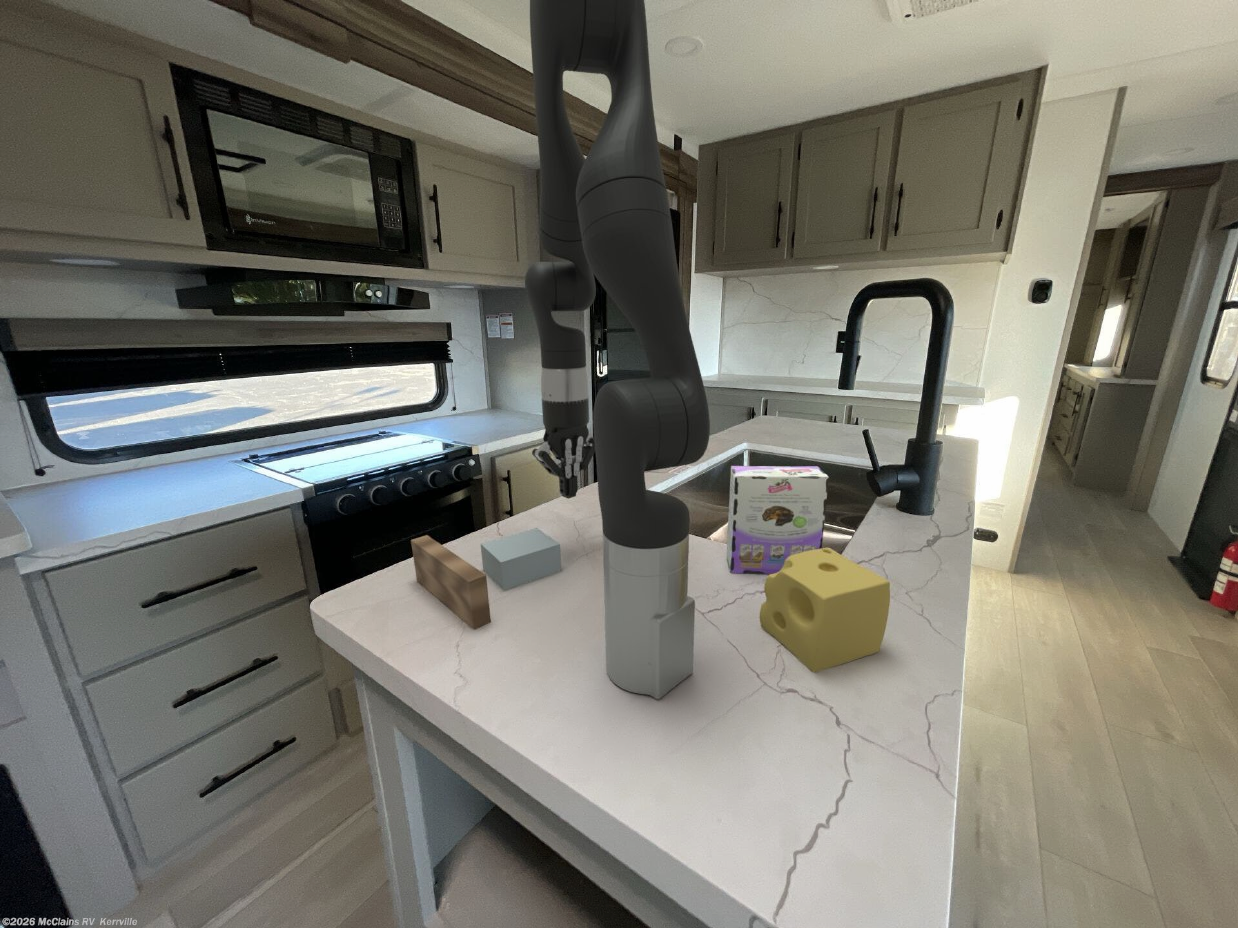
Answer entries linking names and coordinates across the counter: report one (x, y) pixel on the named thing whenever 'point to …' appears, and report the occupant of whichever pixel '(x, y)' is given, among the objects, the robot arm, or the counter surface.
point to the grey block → (520, 558)
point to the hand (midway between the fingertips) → (569, 496)
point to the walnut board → (452, 581)
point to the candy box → (774, 515)
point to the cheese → (826, 608)
